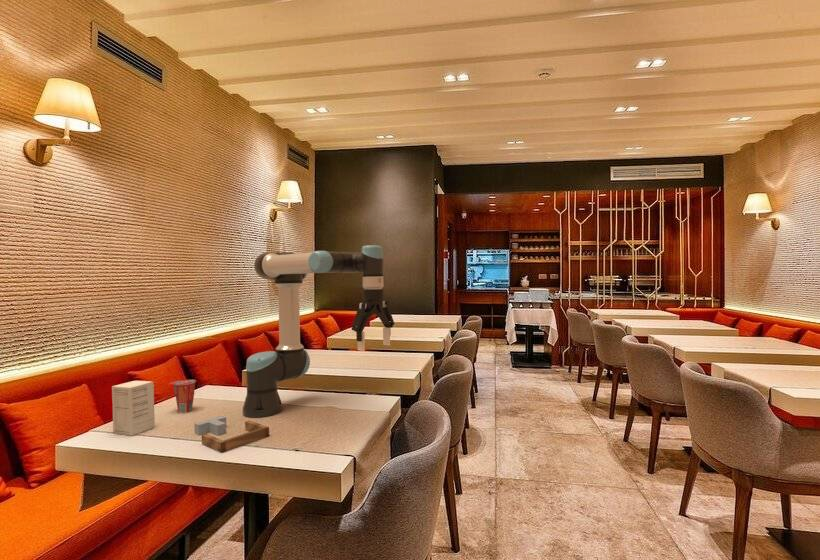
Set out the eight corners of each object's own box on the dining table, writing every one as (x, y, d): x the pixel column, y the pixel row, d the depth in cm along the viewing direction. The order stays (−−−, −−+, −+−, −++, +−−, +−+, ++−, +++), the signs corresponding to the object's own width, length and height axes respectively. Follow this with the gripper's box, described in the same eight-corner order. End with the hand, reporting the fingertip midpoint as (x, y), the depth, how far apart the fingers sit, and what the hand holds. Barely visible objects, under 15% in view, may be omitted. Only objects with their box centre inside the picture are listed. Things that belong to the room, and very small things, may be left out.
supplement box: (155, 427, 155) (154, 381, 155) (131, 436, 146) (130, 387, 146) (136, 424, 158) (135, 379, 158) (112, 433, 149) (111, 385, 149)
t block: (194, 433, 148) (194, 423, 148) (222, 425, 156) (221, 415, 156) (207, 438, 142) (207, 428, 142) (235, 430, 150) (235, 420, 150)
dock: (201, 444, 138) (201, 434, 138) (249, 428, 151) (249, 420, 151) (221, 452, 130) (221, 443, 130) (269, 435, 144) (269, 427, 144)
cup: (192, 406, 180) (192, 378, 180) (199, 410, 174) (199, 381, 174) (168, 411, 173) (167, 382, 173) (174, 416, 167) (174, 385, 167)
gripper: (356, 289, 140) (357, 354, 140) (403, 287, 159) (404, 343, 160) (340, 289, 144) (341, 352, 144) (387, 287, 164) (388, 342, 164)
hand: (374, 347), depth 152 cm, fingers open, 13 cm apart
